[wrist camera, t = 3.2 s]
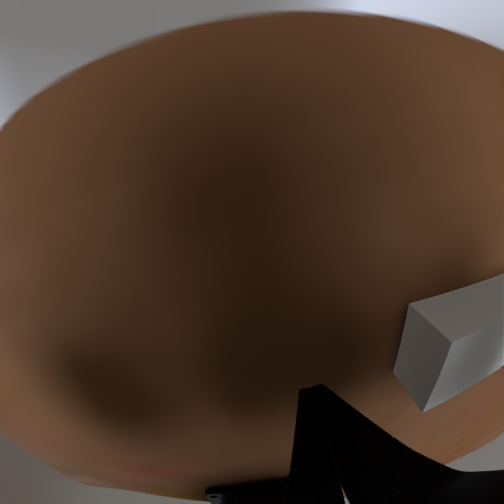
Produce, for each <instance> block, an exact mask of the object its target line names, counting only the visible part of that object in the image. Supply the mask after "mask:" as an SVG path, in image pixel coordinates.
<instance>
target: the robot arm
mask: <svg viewBox="0 0 504 504" xmlns="http://www.w3.org/2000/svg"><path fill="white" fill-rule="evenodd" d="M341 486H342V487H341ZM342 488H343V490H344V492H345V494H346V497H347V499H348V501H349V503H350V504H504V470H495V471H478V472H465V471H459V470H455V469H452V468H450V467H447V466H445V465H443V464H441V463H439V462H436V461H434V460H432V459H430V458H428V457H426V456H424V455H422V454H420V453H418V452H416V451H414V450H412V449H411V448H409V447H408V446H406V445H405V444H403V443H401V442H400V441H399V440H397V439H396V438H394V437H393V438H392V436H391V435H390V434H389V433H387V432H386V431H384V430H383V429H382V428H380V427H379V426H378V425H376V424H375V423H373V422H372V421H371V420H369V419H368V418H367V417H365V416H364V415H363V414H361V413H360V412H359V411H357V410H356V409H355V408H353V407H352V406H351V405H349V404H348V403H347V402H345V401H344V400H343V399H342V398H340V397H339V396H338V395H336V394H335V393H334V392H333V391H331V390H330V389H329V388H327V387H326V386H325V385H323V384H320V385H316V386H312V387H311V388H310V387H308V388H304V389H300V390H299V396H298V406H297V416H296V425H295V434H294V442H293V450H292V458H291V465H290V471H289V478H288V479H287V480H282V481H276V482H271V483H265V484H258V485H251V486H242V487H233V488H220V489H208V490H206V491H205V496H206V498H207V499H208V500H209V501H210V502H211V503H212V504H345V501H344V496H343V492H342Z"/></svg>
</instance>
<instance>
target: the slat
mask: <svg viewBox="0 0 504 504" xmlns="http://www.w3.org/2000/svg"><path fill="white" fill-rule="evenodd" d="M503 365H504V273H503V274H500V275H498V276H495V277H492V278H489V279H486V280H484V281H481V282H478V283H475V284H472V285H469V286H466V287H463V288H460V289H457V290H454V291H450V292H447V293H444V294H441V295H437V296H434V297H430V298H427V299H423V300H420V301H416V302H413V303H409V306H408V311H407V316H406V321H405V325H404V330H403V334H402V339H401V343H400V347H399V351H398V355H397V358H396V362H395V366H394V369H393V373H394V374H395V376H396V377H397V378H398V380H399V381H400V383H401V384H402V385H403V387H404V388H405V389H406V391H407V392H408V394H409V395H410V396H411V398H412V399H413V401H414V402H415V403H416V405H417V406H418V408H419V409H420V411H421V412H422V413H423V412H425V411H427V410H429V409H431V408H433V407H435V406H437V405H439V404H441V403H443V402H445V401H447V400H449V399H451V398H452V397H454V396H456V395H458V394H459V393H461V392H463V391H465V390H466V389H468V388H470V387H471V386H473V385H475V384H476V383H478V382H479V381H481V380H482V379H484V378H486V377H487V376H489V375H490V374H492V373H493V372H494V371H496V370H497V369H499V368H500V367H502V366H503Z"/></svg>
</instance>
